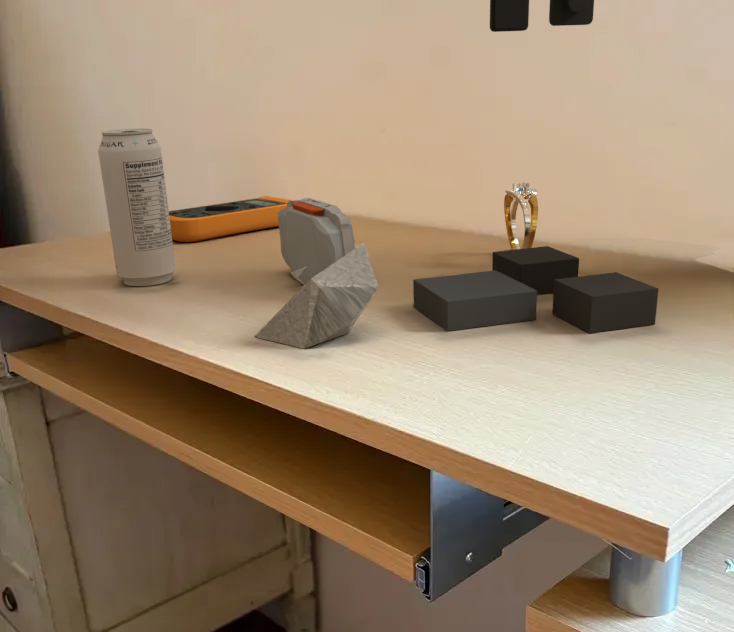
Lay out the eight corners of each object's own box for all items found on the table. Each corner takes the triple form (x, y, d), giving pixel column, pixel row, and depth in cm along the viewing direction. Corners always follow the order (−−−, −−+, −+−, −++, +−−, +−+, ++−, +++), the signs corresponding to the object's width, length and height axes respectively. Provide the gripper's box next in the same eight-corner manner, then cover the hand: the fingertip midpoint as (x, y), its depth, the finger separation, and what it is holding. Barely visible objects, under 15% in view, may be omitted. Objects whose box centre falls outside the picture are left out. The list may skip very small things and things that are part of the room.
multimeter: (152, 237, 109) (148, 210, 108) (267, 218, 120) (265, 193, 118) (182, 245, 103) (179, 218, 102) (301, 225, 114) (299, 199, 112)
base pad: (494, 296, 76) (495, 269, 75) (536, 319, 69) (537, 290, 68) (413, 306, 74) (412, 279, 73) (447, 331, 67) (447, 301, 66)
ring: (497, 252, 93) (498, 179, 90) (525, 251, 93) (527, 178, 90) (512, 266, 87) (514, 188, 84) (542, 264, 87) (545, 187, 84)
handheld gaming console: (361, 296, 78) (357, 210, 75) (333, 301, 77) (328, 214, 74) (301, 267, 90) (296, 192, 87) (276, 271, 89) (270, 195, 86)
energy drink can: (156, 270, 91) (136, 127, 85) (188, 278, 87) (170, 129, 81) (107, 282, 87) (83, 132, 81) (138, 290, 83) (116, 134, 77)
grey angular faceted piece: (270, 348, 61) (217, 292, 67) (306, 396, 66) (253, 340, 72) (393, 246, 62) (330, 200, 68) (420, 301, 67) (358, 254, 73)
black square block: (613, 305, 72) (616, 271, 71) (655, 324, 67) (658, 288, 66) (551, 313, 71) (553, 279, 69) (589, 333, 65) (592, 296, 64)
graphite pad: (546, 275, 83) (547, 245, 82) (577, 289, 77) (579, 257, 76) (491, 282, 81) (492, 251, 80) (519, 296, 76) (520, 264, 75)
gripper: (675, -293, 50) (648, 21, 56) (537, -207, 65) (528, 31, 72) (563, -303, 48) (549, 23, 54) (448, -212, 63) (448, 34, 70)
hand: (537, 28), depth 63 cm, fingers open, 9 cm apart
